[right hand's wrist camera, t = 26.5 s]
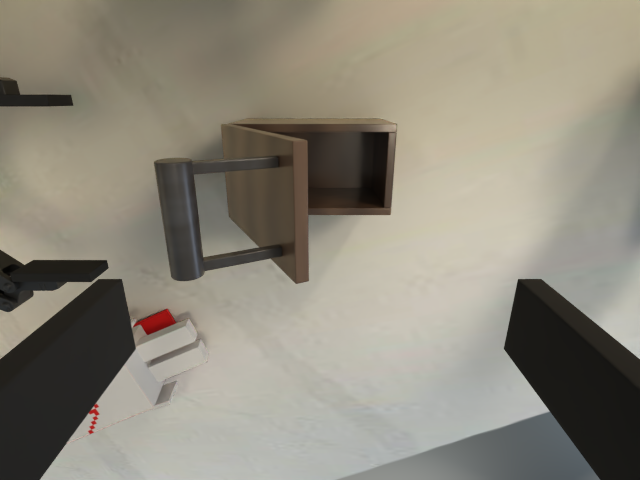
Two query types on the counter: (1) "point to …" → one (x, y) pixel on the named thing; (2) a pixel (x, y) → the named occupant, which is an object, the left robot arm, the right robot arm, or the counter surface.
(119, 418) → the toy
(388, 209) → the chest
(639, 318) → the counter surface
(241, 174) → the lid
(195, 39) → the counter surface
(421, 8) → the counter surface
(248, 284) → the counter surface
